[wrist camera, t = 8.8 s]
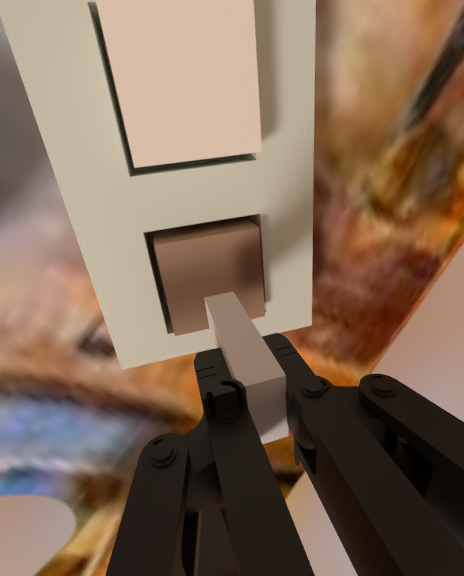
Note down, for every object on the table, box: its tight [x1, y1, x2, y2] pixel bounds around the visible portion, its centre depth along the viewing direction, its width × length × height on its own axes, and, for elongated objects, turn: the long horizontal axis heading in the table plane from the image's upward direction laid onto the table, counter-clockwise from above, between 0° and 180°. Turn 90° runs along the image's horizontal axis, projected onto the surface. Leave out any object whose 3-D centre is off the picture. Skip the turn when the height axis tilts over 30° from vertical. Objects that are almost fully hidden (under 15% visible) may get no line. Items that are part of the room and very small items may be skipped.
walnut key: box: [154, 216, 265, 336], centre depth 20 cm, size 6×6×4 cm
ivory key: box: [96, 0, 262, 168], centre depth 14 cm, size 6×6×4 cm
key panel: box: [0, 0, 316, 370], centre depth 17 cm, size 31×14×5 cm, turn 6°
